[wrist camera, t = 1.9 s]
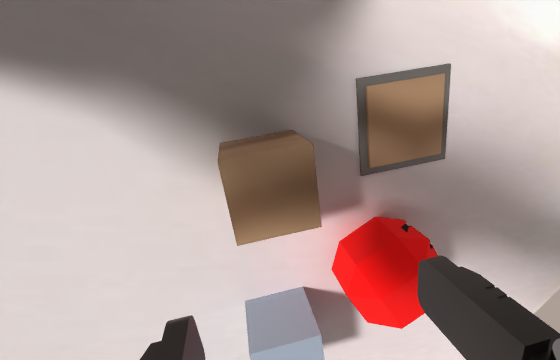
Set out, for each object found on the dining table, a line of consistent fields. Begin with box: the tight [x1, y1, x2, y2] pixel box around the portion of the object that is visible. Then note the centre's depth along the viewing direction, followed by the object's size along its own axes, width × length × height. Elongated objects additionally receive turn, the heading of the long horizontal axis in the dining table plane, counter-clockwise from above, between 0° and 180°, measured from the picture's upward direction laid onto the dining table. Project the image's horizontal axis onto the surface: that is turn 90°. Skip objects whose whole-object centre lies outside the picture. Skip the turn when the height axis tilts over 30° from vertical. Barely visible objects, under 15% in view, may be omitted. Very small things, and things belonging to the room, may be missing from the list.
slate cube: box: [245, 287, 324, 360], centre depth 26 cm, size 6×6×6 cm
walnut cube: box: [218, 130, 322, 246], centre depth 21 cm, size 6×6×6 cm
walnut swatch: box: [356, 64, 451, 176], centre depth 24 cm, size 8×8×1 cm
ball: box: [332, 217, 438, 329], centre depth 25 cm, size 8×8×8 cm
